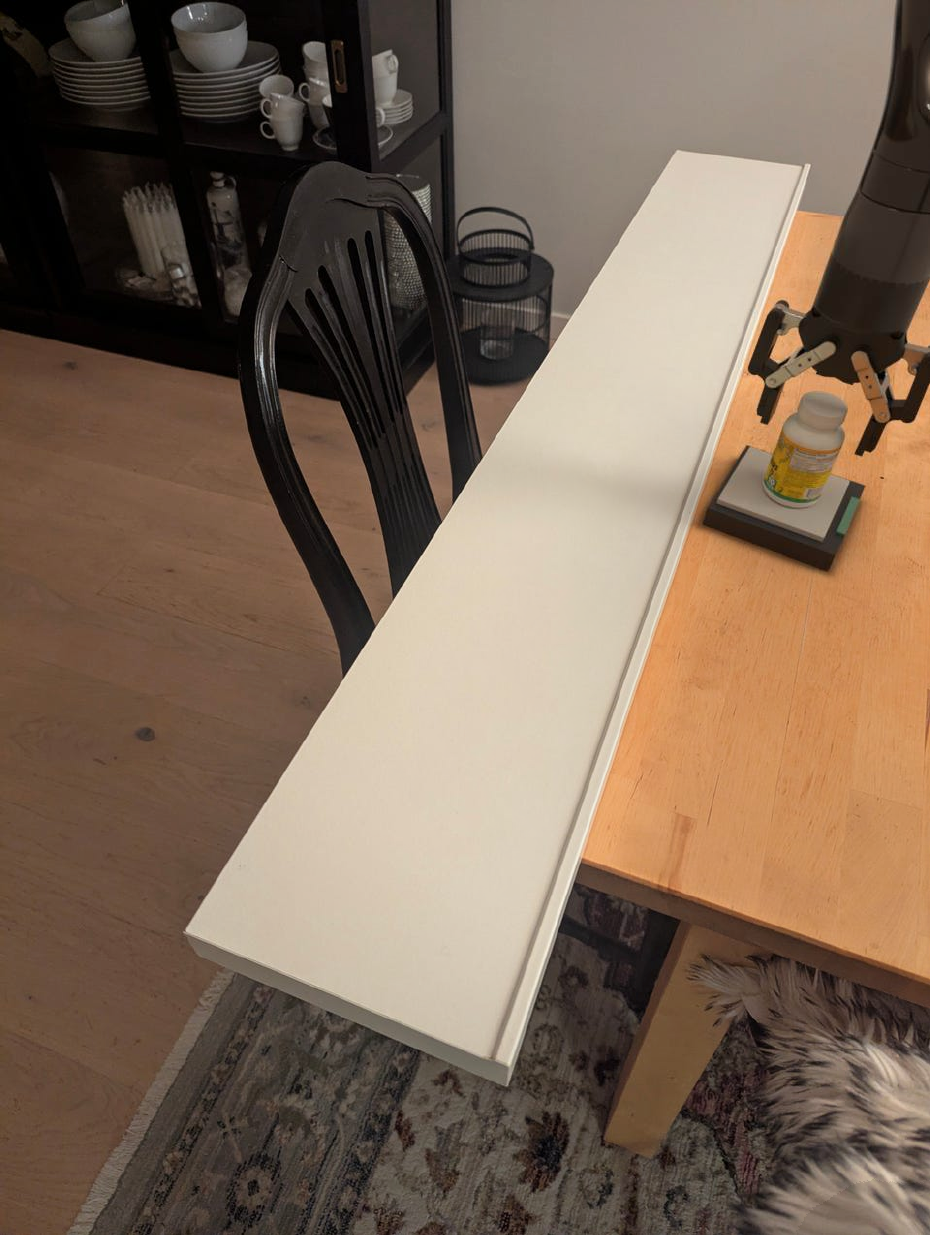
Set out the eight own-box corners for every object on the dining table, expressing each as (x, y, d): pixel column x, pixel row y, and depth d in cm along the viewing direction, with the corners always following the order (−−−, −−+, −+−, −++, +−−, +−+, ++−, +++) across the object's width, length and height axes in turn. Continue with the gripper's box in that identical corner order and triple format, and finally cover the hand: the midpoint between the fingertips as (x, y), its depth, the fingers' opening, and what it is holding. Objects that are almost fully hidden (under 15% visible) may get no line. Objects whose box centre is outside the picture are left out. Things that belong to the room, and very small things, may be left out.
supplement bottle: (815, 516, 81) (854, 427, 74) (757, 500, 82) (789, 411, 75) (821, 483, 85) (859, 395, 78) (765, 468, 86) (797, 381, 79)
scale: (858, 501, 87) (868, 480, 85) (828, 571, 80) (838, 550, 78) (741, 460, 91) (748, 439, 89) (702, 524, 83) (708, 502, 82)
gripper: (778, 249, 67) (722, 430, 79) (974, 301, 63) (884, 484, 74) (804, 217, 72) (748, 392, 83) (988, 263, 67) (902, 441, 79)
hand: (812, 435), depth 79 cm, fingers open, 8 cm apart
